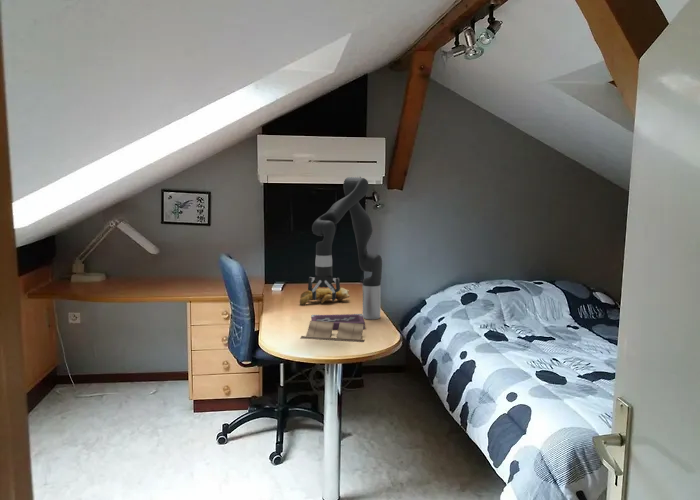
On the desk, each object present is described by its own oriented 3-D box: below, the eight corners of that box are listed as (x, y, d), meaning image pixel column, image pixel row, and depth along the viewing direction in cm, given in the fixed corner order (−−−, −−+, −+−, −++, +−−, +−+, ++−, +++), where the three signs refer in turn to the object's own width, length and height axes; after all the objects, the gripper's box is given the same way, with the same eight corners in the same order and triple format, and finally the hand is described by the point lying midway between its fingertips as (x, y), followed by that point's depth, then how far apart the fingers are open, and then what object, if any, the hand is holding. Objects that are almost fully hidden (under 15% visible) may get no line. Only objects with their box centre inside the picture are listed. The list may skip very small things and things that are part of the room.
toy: (300, 310, 309) (351, 305, 315) (299, 295, 306) (351, 290, 312) (297, 300, 322) (346, 295, 328) (296, 285, 319) (346, 281, 325)
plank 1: (310, 322, 252) (310, 320, 251) (333, 323, 250) (333, 322, 249) (306, 337, 246) (305, 336, 245) (330, 339, 243) (329, 337, 242)
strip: (301, 339, 245) (301, 335, 245) (364, 343, 239) (364, 339, 239) (299, 341, 242) (299, 337, 242) (363, 345, 236) (363, 341, 236)
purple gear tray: (362, 323, 273) (362, 313, 272) (365, 332, 257) (365, 322, 256) (311, 324, 271) (311, 314, 271) (311, 333, 255) (311, 323, 255)
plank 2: (340, 324, 249) (339, 322, 248) (363, 325, 247) (363, 323, 246) (336, 339, 243) (336, 338, 242) (360, 341, 240) (360, 339, 240)
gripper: (341, 264, 246) (341, 299, 248) (310, 263, 248) (310, 297, 250) (337, 266, 238) (337, 302, 241) (306, 265, 241) (306, 301, 243)
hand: (324, 300), depth 245 cm, fingers open, 8 cm apart
